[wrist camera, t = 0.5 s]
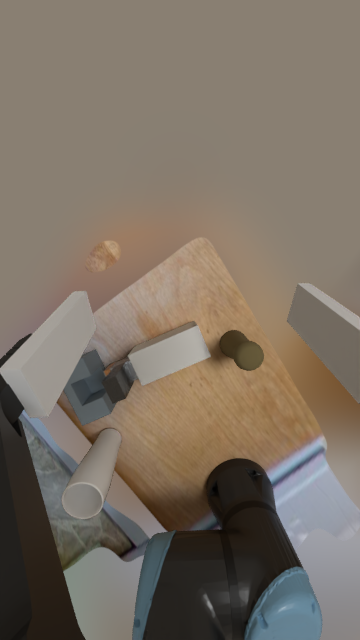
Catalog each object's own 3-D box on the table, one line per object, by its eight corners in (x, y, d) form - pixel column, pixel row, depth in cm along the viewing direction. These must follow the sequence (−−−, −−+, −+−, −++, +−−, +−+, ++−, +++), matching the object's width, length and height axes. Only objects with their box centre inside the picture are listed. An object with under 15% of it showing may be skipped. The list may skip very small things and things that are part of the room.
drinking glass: (89, 434, 48) (51, 497, 33) (113, 418, 48) (86, 474, 33) (107, 456, 49) (78, 527, 34) (131, 440, 48) (112, 505, 34)
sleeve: (205, 347, 46) (211, 356, 39) (147, 372, 47) (142, 385, 40) (194, 320, 46) (197, 325, 39) (134, 346, 46) (127, 355, 39)
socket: (119, 397, 47) (110, 413, 41) (95, 407, 47) (82, 425, 41) (95, 349, 46) (82, 358, 39) (70, 360, 46) (53, 370, 39)
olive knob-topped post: (214, 343, 46) (226, 357, 35) (234, 324, 46) (253, 333, 35) (232, 362, 47) (249, 382, 36) (252, 344, 47) (276, 359, 36)
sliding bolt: (195, 348, 44) (203, 365, 33) (117, 381, 45) (99, 409, 34) (188, 330, 44) (192, 342, 33) (109, 364, 44) (88, 387, 33)
